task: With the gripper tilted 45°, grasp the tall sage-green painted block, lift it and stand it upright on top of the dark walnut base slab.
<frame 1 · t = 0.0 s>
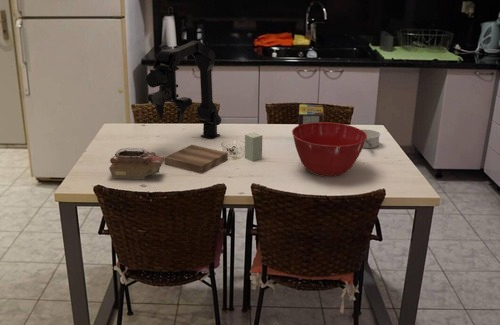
hand: (170, 120, 238), 15 cm above the table, tool pointing down, fingers open, 9 cm apart
mixing bowl: (326, 170, 228), on the table
decorative box: (139, 175, 221), on the table
walnut base: (196, 161, 235), on the table
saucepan: (366, 149, 253), on the table
sage block: (253, 158, 240), on the table
protein box: (309, 143, 258), on the table
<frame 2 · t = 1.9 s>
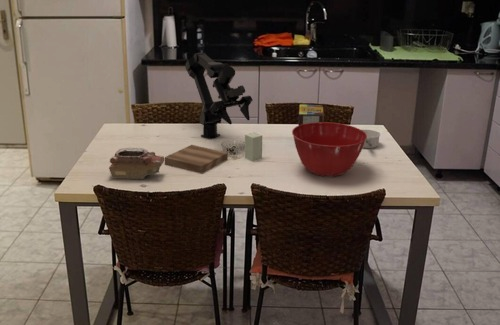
hand: (240, 121, 241), 13 cm above the table, tool tilted 45°, fingers open, 9 cm apart
nothing on the table moved.
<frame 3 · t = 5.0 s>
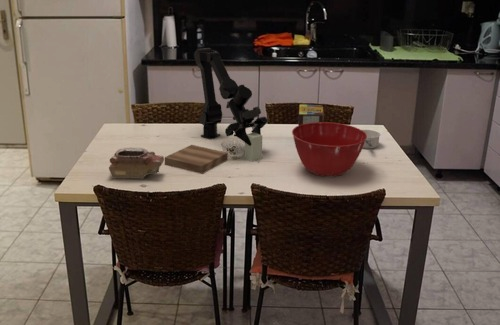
hand: (255, 143, 236), 7 cm above the table, tool tilted 45°, fingers closed on sage block, 5 cm apart
sage block: (253, 158, 240), on the table, touching gripper
everything else where it was.
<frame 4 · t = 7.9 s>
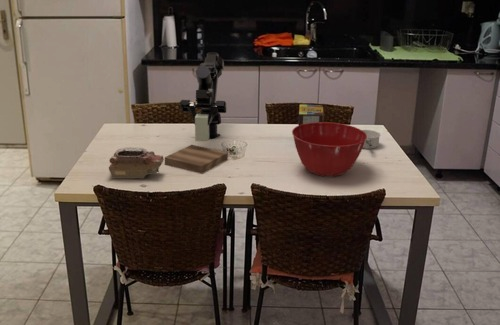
hand: (201, 124, 237), 13 cm above the table, tool tilted 45°, fingers closed on sage block, 5 cm apart
sage block: (202, 139, 240), point 7 cm above the table, touching gripper
everything else where it was.
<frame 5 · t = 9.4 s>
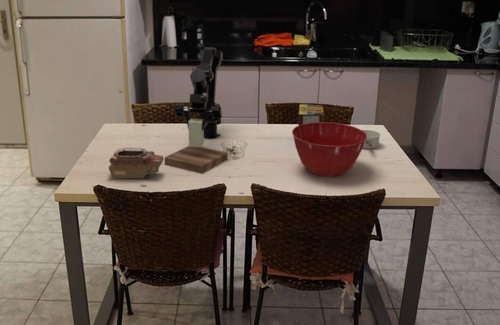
hand: (195, 130, 229), 14 cm above the table, tool tilted 45°, fingers closed on sage block, 5 cm apart
sage block: (196, 144, 233), point 7 cm above the table, touching gripper
everything else where it was.
when the fingers open (11 cm above the table, at t = 10.9 s): sage block drops 1 cm, resting on walnut base.
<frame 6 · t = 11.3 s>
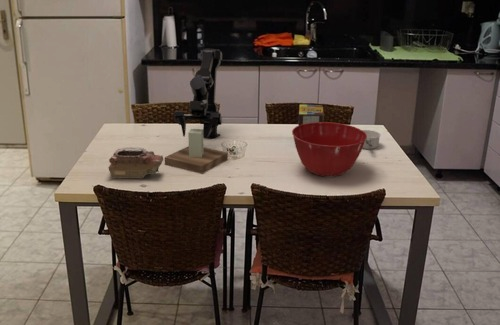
hand: (195, 136, 230), 11 cm above the table, tool tilted 45°, fingers open, 9 cm apart
sage block: (196, 154, 234), point 3 cm above the table, touching walnut base
everything else where it was.
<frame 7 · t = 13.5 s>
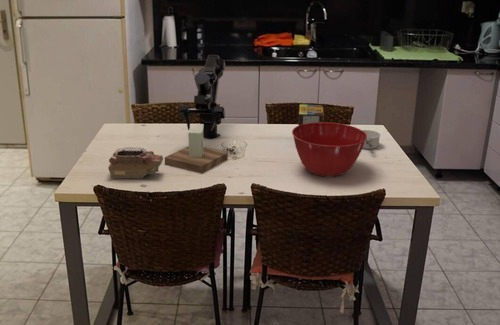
hand: (199, 130, 238), 11 cm above the table, tool tilted 45°, fingers open, 9 cm apart
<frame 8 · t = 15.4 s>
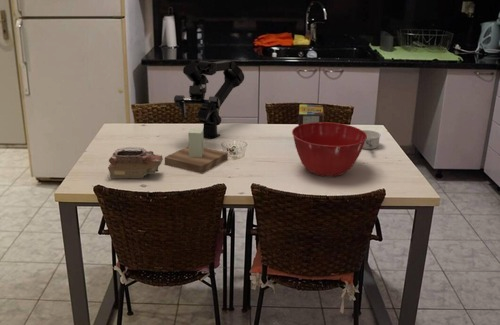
hand: (194, 119, 243), 14 cm above the table, tool tilted 45°, fingers open, 9 cm apart
at the end: sage block inside the target area on the walnut base (0.0 cm from its centre), point 3.0 cm above the walnut base's base; sage block tilted 0°; the gripper is holding nothing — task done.
